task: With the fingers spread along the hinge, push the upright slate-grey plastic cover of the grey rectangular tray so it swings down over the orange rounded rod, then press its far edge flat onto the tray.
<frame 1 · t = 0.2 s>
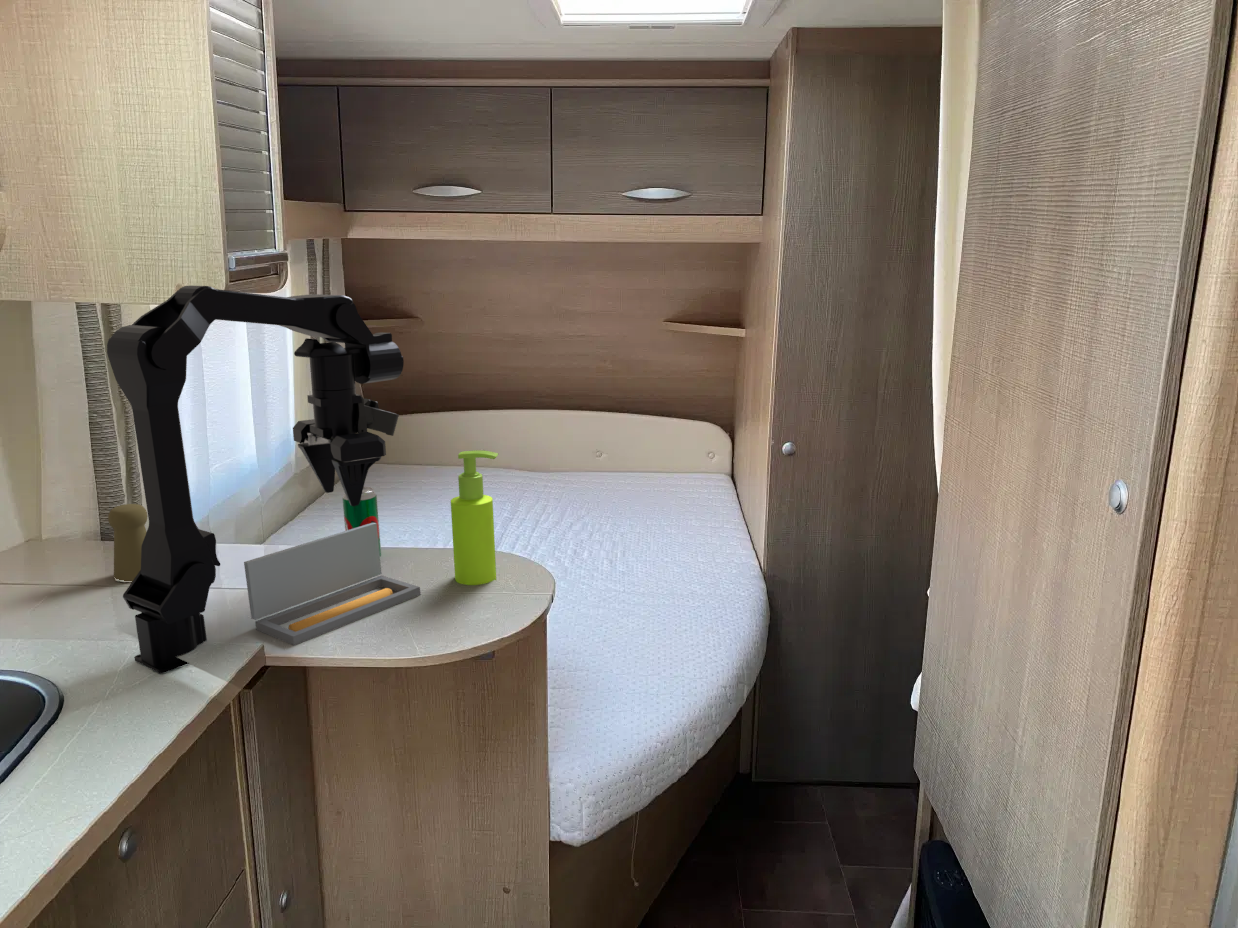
hand: (341, 498, 130), 14 cm above the worktop, fingers open, 9 cm apart
soap dispenser: (479, 587, 135), on the worktop
orange rounded rod: (341, 611, 123), point 1 cm above the worktop, touching grey rectangular tray
grey rectangular tray: (342, 621, 123), on the worktop
duct cover: (317, 568, 124), point 6 cm above the worktop, hinge at 92.0°
soda can: (365, 565, 145), on the worktop
cork: (136, 576, 141), on the worktop
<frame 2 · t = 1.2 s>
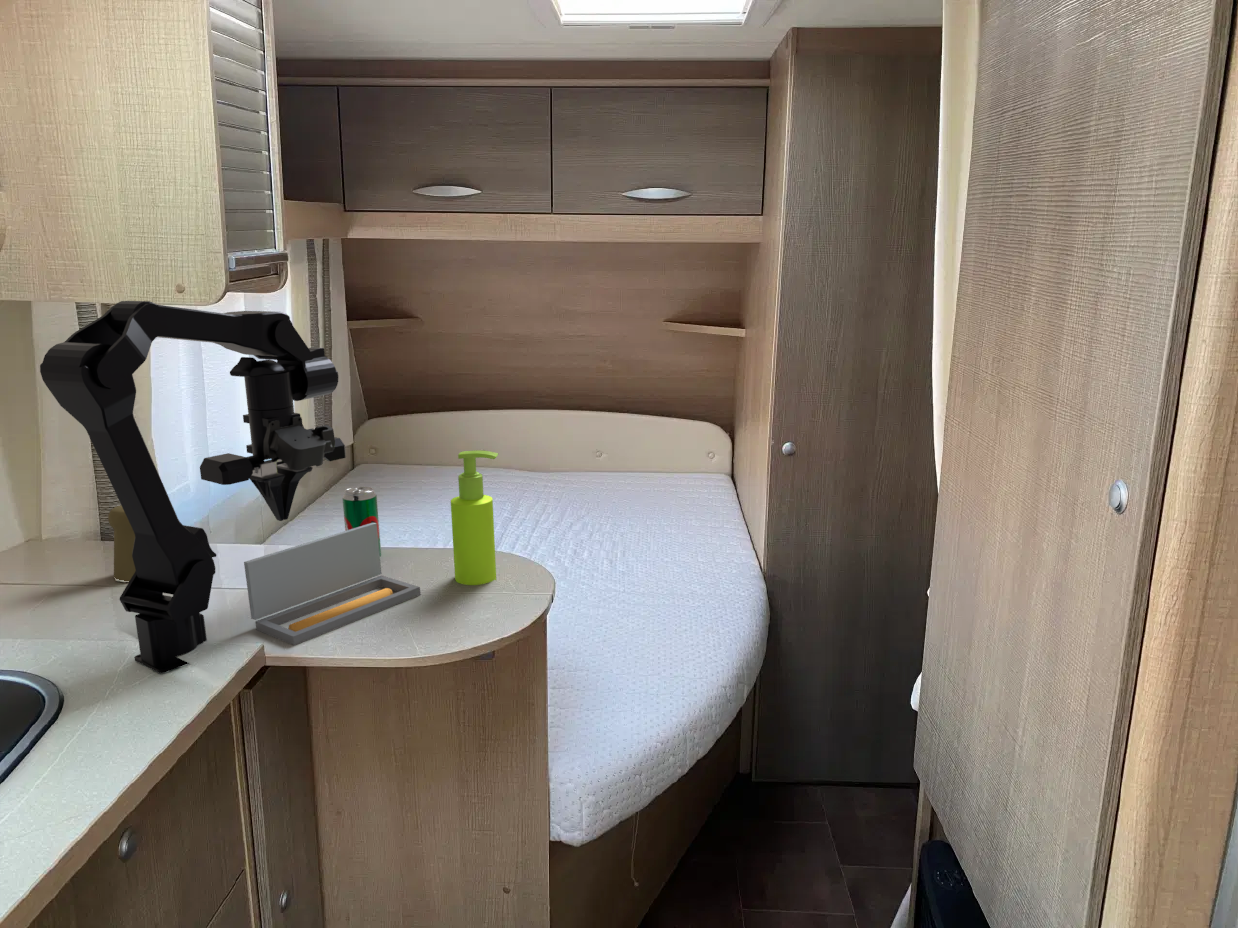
hand: (282, 519, 127), 12 cm above the worktop, fingers closed
nothing on the worktop moved.
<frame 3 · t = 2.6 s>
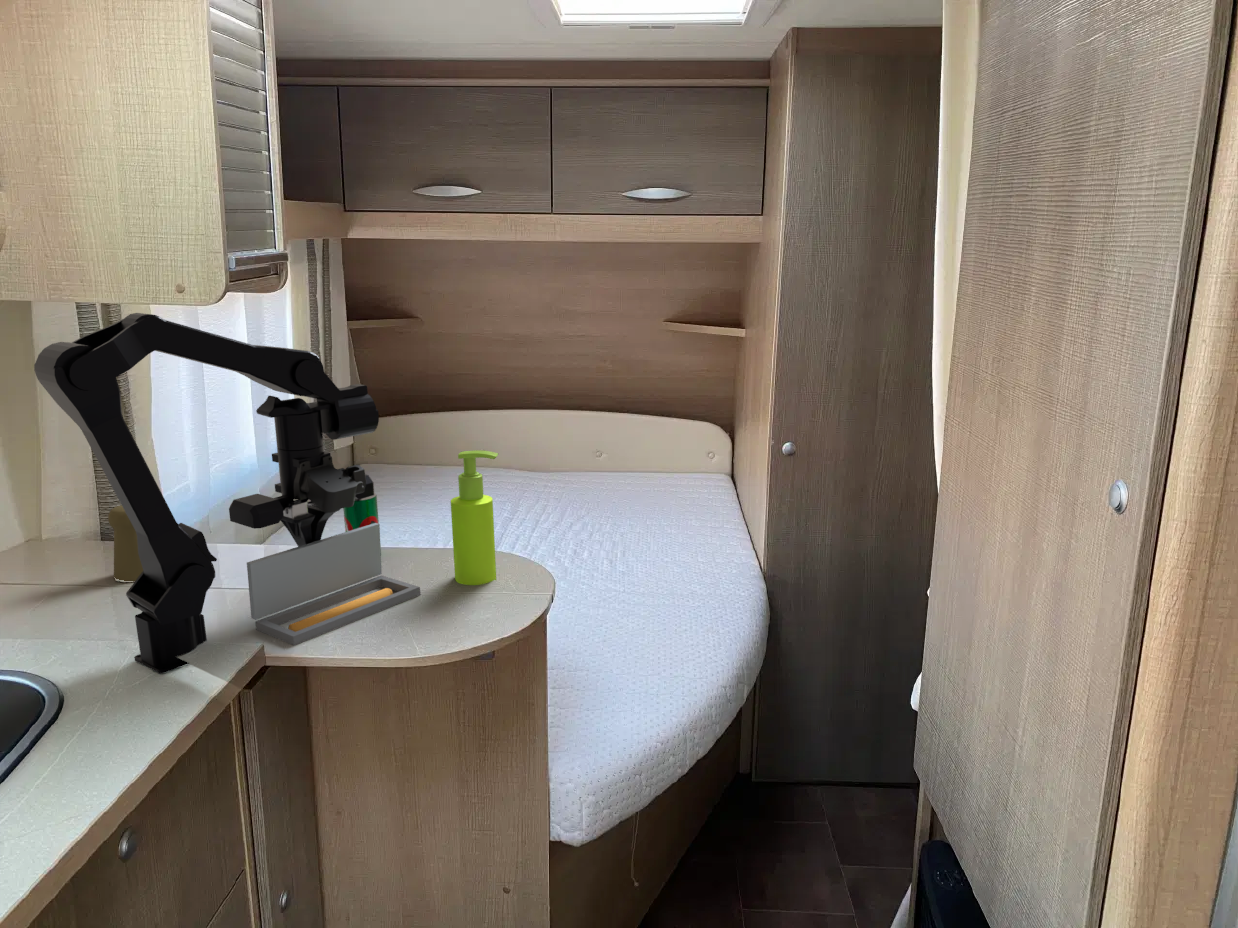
hand: (310, 559, 125), 7 cm above the worktop, fingers closed, pressing on duct cover
duct cover: (318, 568, 124), point 6 cm above the worktop, hinge at 87.1°, touching gripper
everything else where it was.
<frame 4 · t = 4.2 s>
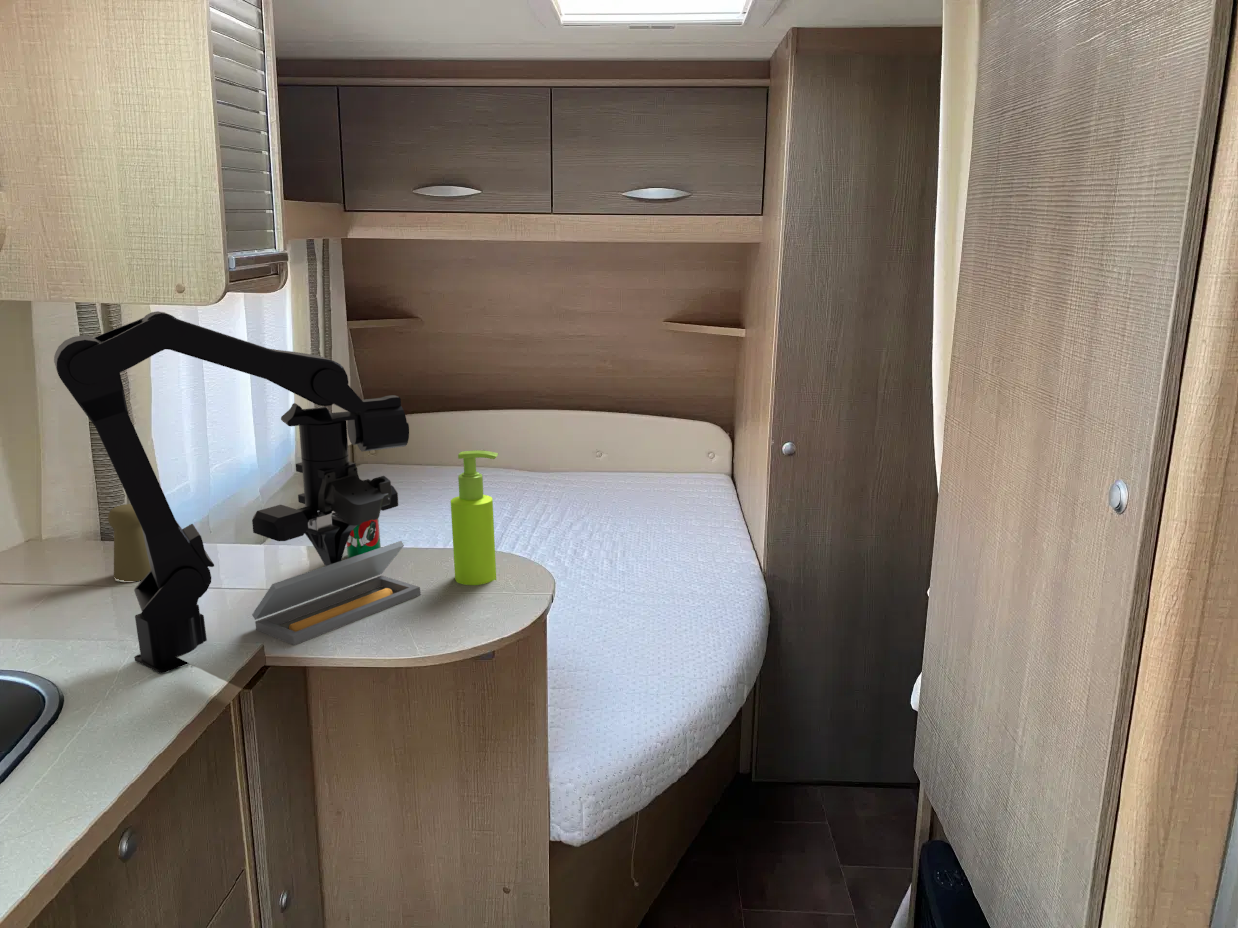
hand: (333, 571, 122), 7 cm above the worktop, fingers closed, pressing on duct cover
duct cover: (331, 578, 123), point 6 cm above the worktop, hinge at 44.7°, touching gripper
everything else where it was.
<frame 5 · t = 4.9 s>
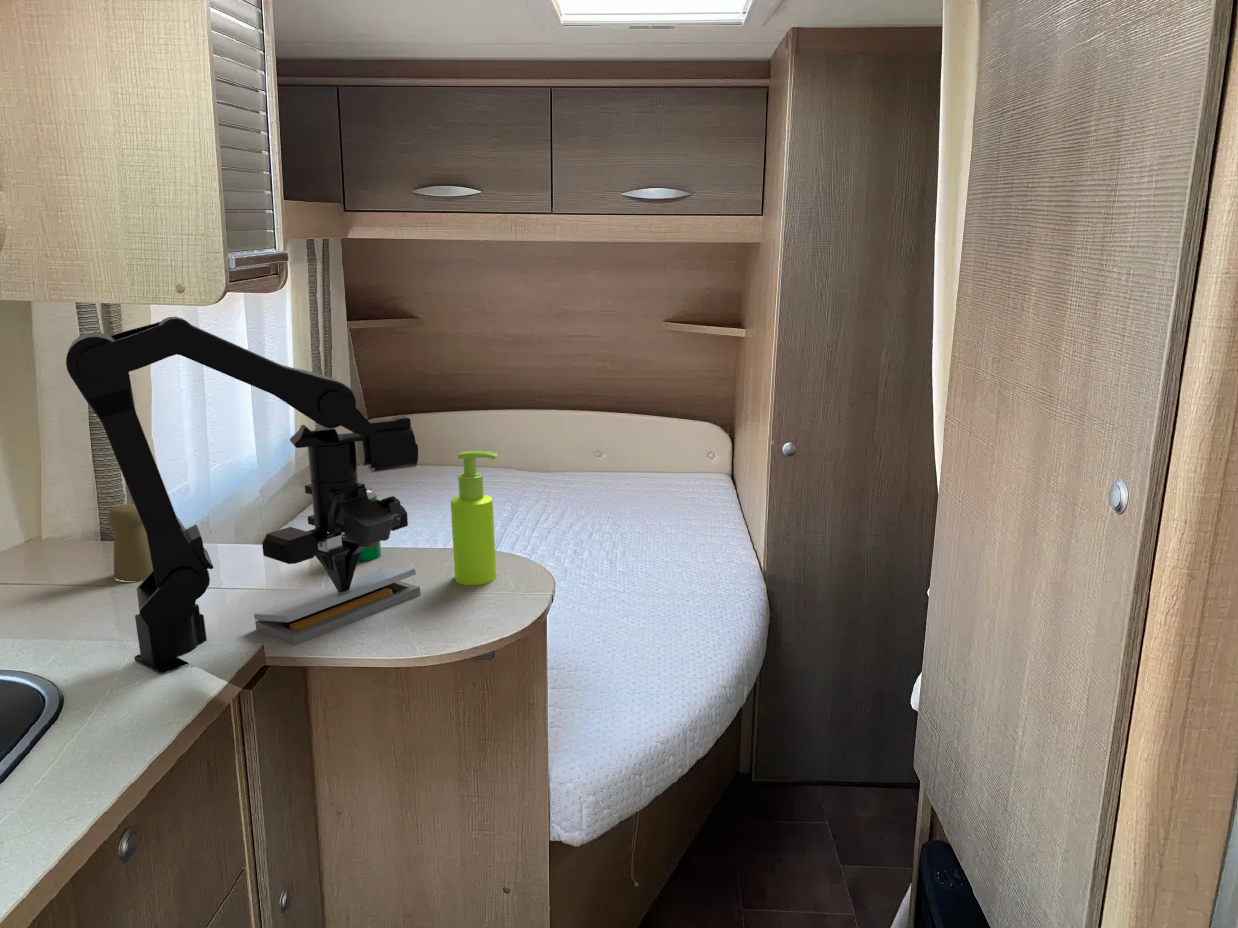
hand: (343, 592, 121), 4 cm above the worktop, fingers closed, pressing on duct cover
duct cover: (338, 593, 122), point 4 cm above the worktop, hinge at 11.4°, touching gripper
everything else where it was.
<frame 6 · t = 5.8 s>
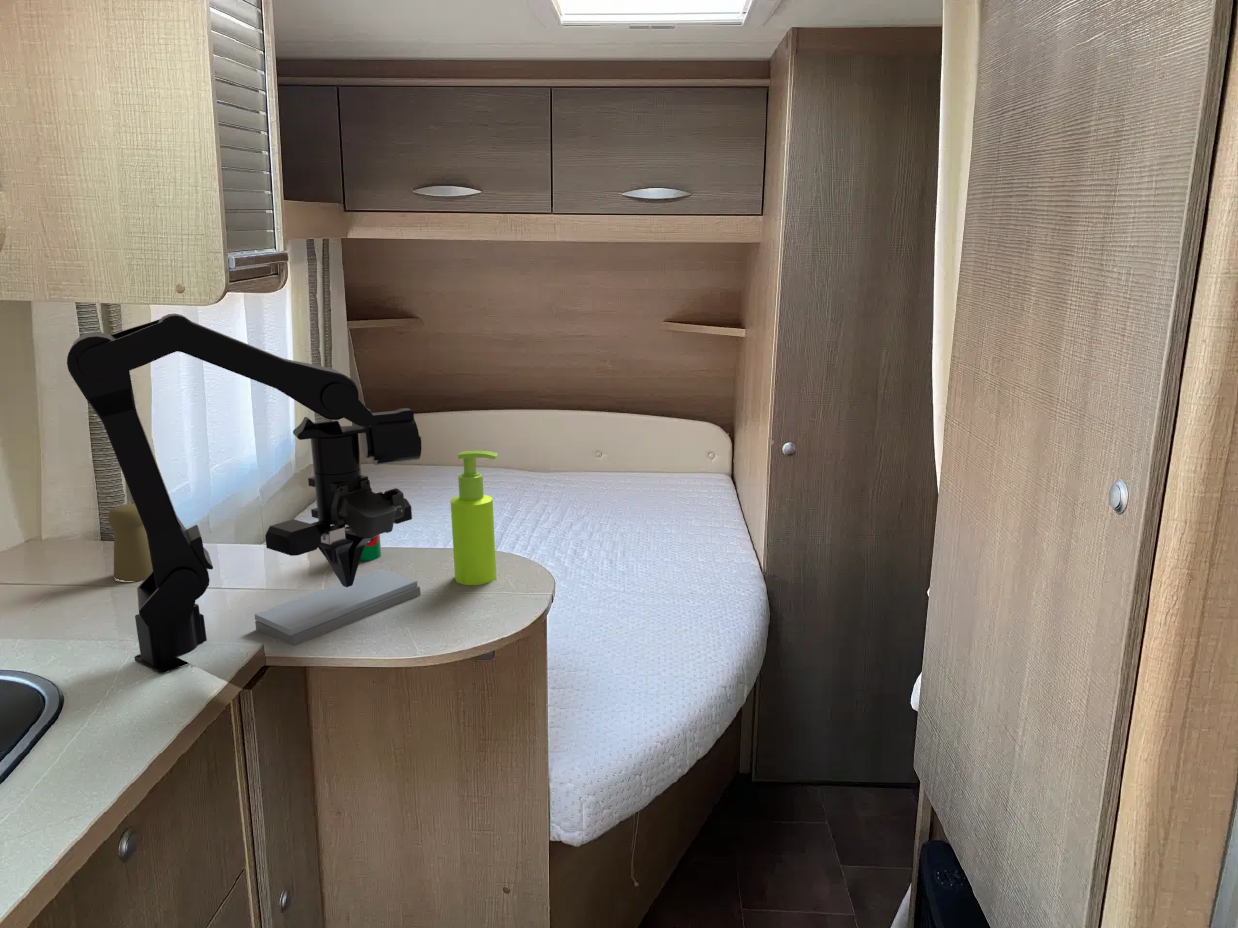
hand: (347, 586, 121), 5 cm above the worktop, fingers closed
duct cover: (339, 599, 122), point 3 cm above the worktop, hinge at -1.8°, touching grey rectangular tray
everything else where it was.
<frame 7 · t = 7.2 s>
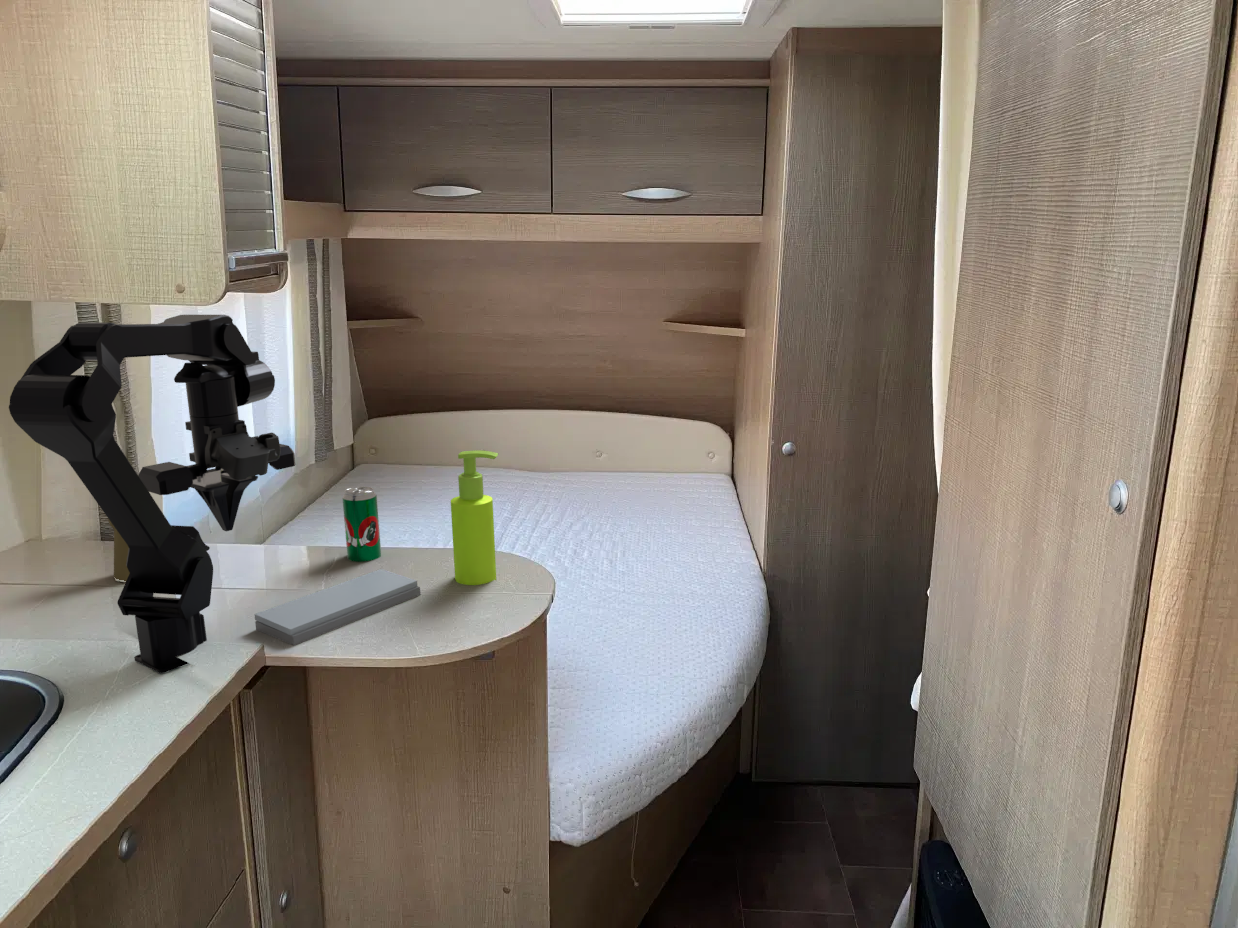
hand: (227, 530, 123), 12 cm above the worktop, fingers closed
duct cover: (339, 599, 122), point 3 cm above the worktop, hinge at -1.5°
everything else where it was.
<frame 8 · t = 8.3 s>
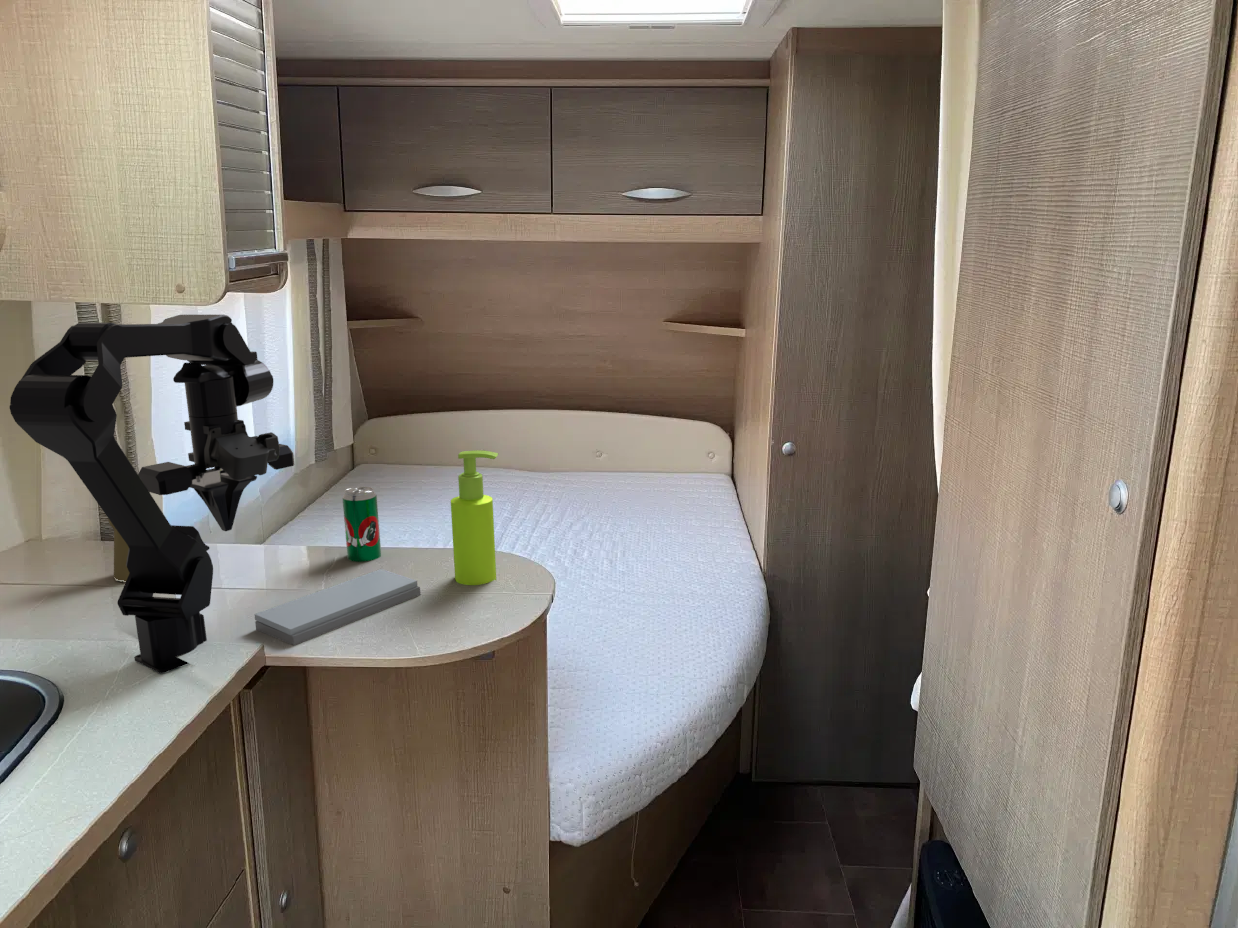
hand: (226, 530, 123), 12 cm above the worktop, fingers closed
nothing on the worktop moved.
at the end: duct cover at -2° (first picture: +92°); orange rounded rod inside the target area on the grey rectangular tray (0.0 cm from its centre), point 1.4 cm above the grey rectangular tray's base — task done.
